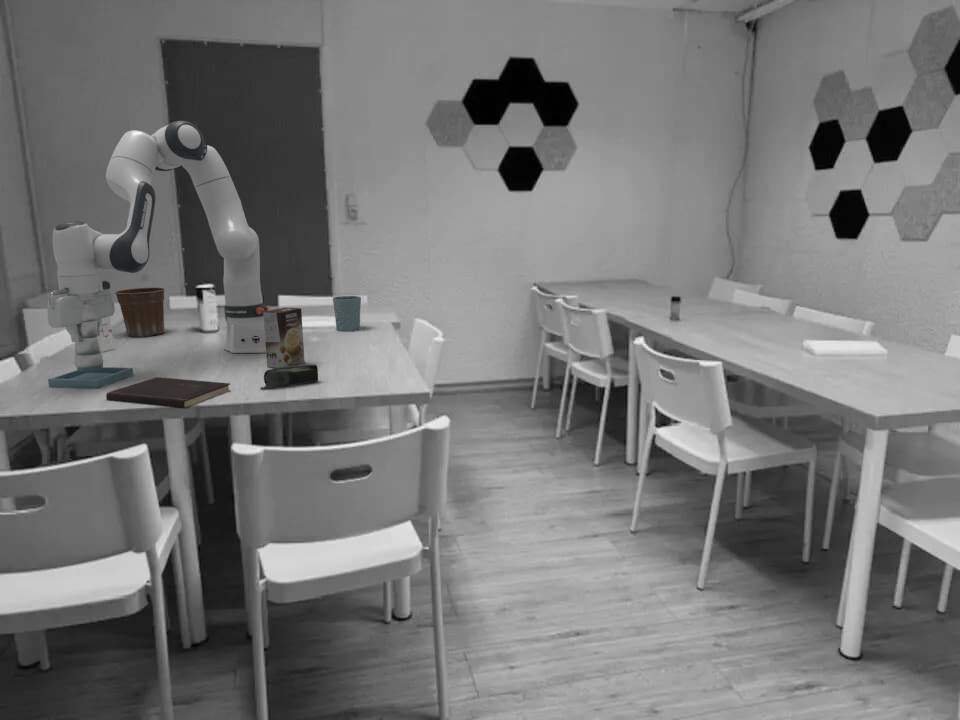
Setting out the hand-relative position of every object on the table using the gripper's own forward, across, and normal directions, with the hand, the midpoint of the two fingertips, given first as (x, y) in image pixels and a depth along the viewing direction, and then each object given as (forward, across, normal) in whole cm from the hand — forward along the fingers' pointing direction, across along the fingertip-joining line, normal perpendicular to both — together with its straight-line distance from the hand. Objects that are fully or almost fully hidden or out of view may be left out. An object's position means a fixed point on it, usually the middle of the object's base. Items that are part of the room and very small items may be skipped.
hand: (86, 338), depth 178 cm
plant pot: (+12, +64, +28) cm, 71 cm away
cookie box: (+11, +23, -44) cm, 51 cm away
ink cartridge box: (+12, +37, +26) cm, 46 cm away
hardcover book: (+12, -11, -30) cm, 34 cm away
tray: (+11, 0, 0) cm, 11 cm away
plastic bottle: (+9, 0, 0) cm, 9 cm away
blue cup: (+11, +80, -43) cm, 92 cm away
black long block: (+11, +1, -55) cm, 56 cm away
